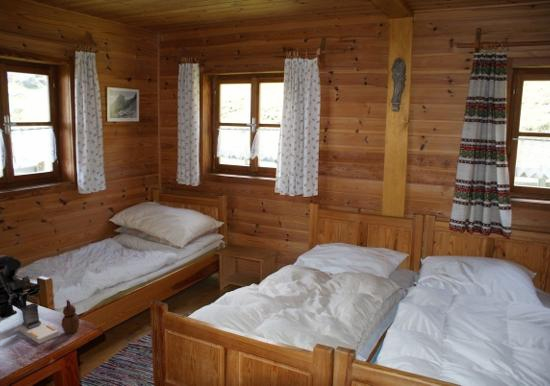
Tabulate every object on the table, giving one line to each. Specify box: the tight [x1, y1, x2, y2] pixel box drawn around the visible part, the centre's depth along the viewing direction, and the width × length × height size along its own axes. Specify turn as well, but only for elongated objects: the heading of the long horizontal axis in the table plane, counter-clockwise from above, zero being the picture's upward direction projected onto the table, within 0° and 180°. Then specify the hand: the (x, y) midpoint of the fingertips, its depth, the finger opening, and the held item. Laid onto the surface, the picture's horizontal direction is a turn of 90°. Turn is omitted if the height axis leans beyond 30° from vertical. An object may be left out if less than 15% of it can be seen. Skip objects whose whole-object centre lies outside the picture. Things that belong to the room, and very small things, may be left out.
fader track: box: [17, 319, 60, 344], centre depth 193 cm, size 18×8×2 cm, turn 53°
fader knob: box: [20, 302, 41, 329], centre depth 195 cm, size 6×5×8 cm
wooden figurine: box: [61, 300, 80, 334], centre depth 193 cm, size 7×6×15 cm
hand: (25, 312), depth 197 cm, fingers closed
